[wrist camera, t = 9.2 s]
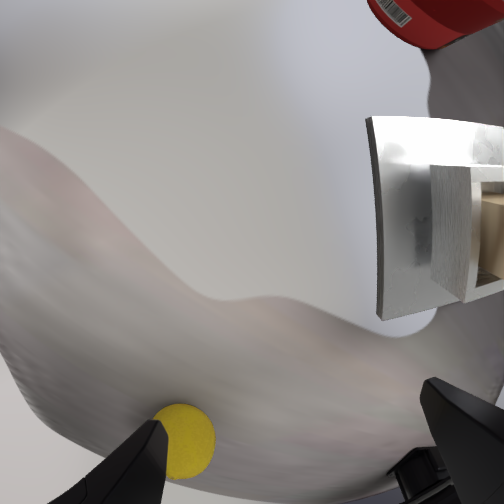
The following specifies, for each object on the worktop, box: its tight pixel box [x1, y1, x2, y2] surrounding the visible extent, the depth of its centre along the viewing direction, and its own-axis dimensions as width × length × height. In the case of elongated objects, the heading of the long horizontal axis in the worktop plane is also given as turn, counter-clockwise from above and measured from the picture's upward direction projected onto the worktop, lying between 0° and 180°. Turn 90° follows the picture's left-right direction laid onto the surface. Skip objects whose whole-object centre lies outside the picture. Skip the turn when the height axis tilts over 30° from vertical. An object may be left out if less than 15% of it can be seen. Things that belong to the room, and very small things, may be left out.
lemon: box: [153, 404, 216, 480], centre depth 19 cm, size 6×6×8 cm
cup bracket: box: [365, 116, 504, 321], centre depth 15 cm, size 14×14×6 cm
